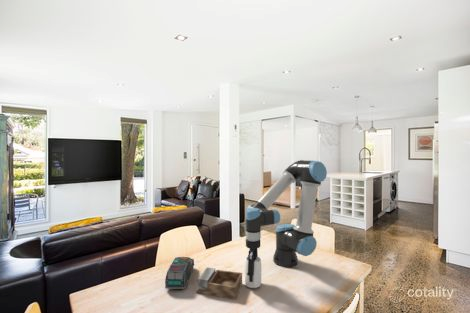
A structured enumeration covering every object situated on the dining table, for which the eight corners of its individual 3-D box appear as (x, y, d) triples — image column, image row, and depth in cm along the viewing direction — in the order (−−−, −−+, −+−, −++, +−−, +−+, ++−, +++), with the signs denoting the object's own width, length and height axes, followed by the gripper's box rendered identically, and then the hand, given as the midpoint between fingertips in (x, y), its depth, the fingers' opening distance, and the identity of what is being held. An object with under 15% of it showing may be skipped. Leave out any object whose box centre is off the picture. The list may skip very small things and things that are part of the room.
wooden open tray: (242, 283, 126) (242, 271, 126) (235, 299, 112) (235, 285, 112) (206, 278, 131) (206, 266, 131) (196, 292, 117) (196, 279, 117)
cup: (242, 283, 126) (242, 256, 125) (256, 280, 129) (256, 254, 128) (249, 292, 118) (249, 263, 117) (264, 288, 121) (264, 260, 121)
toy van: (194, 267, 143) (194, 251, 143) (185, 292, 118) (185, 272, 118) (177, 267, 143) (177, 251, 143) (164, 291, 118) (163, 272, 118)
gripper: (249, 231, 134) (249, 271, 135) (241, 246, 113) (241, 293, 114) (263, 232, 132) (263, 272, 133) (256, 247, 111) (256, 295, 112)
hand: (253, 282), depth 123 cm, fingers open, 9 cm apart
